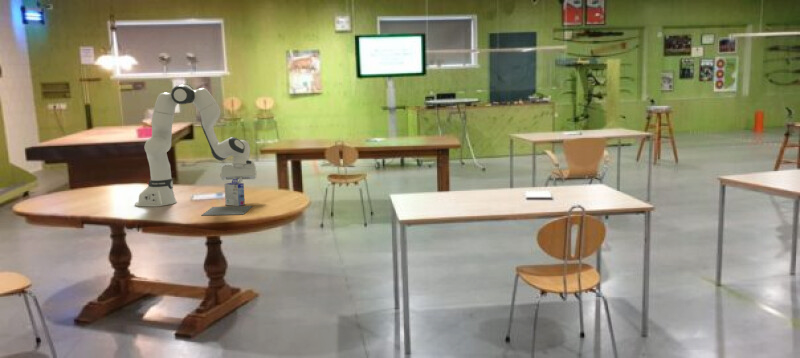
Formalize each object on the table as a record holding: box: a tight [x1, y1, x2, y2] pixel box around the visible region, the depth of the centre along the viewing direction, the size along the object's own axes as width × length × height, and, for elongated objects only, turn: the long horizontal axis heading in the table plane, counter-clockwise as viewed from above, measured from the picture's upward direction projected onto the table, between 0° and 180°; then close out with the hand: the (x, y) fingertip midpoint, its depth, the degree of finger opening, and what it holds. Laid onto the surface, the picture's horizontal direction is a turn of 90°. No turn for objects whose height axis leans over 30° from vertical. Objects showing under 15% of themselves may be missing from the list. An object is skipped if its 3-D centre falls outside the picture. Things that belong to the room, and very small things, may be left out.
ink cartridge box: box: [224, 179, 246, 206], centre depth 358 cm, size 10×6×14 cm, turn 65°
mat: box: [201, 205, 253, 217], centre depth 344 cm, size 22×20×1 cm
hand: (236, 184), depth 364 cm, fingers closed
